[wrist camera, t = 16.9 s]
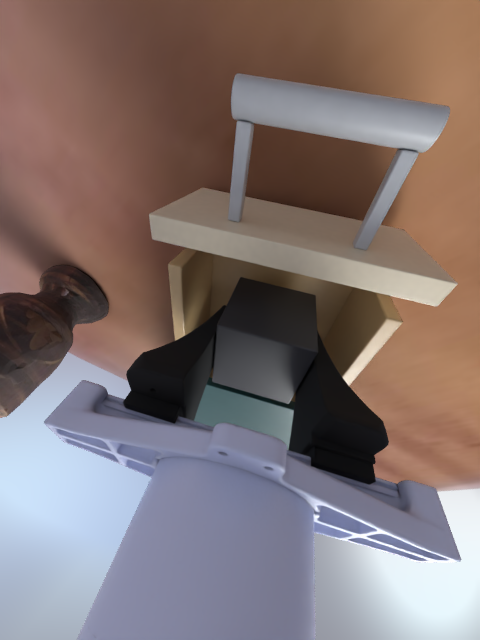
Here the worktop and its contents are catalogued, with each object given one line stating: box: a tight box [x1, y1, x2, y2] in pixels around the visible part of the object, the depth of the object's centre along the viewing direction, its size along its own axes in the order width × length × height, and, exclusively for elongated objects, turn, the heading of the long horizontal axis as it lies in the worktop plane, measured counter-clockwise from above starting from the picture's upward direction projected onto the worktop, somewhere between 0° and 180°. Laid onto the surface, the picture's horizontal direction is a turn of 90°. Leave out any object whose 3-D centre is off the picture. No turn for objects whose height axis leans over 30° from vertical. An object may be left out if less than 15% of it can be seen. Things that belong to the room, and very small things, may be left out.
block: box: [212, 277, 318, 404], centre depth 14 cm, size 5×5×5 cm
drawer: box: [149, 73, 458, 402], centre depth 15 cm, size 18×13×7 cm
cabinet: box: [194, 377, 295, 450], centre depth 24 cm, size 14×14×8 cm
